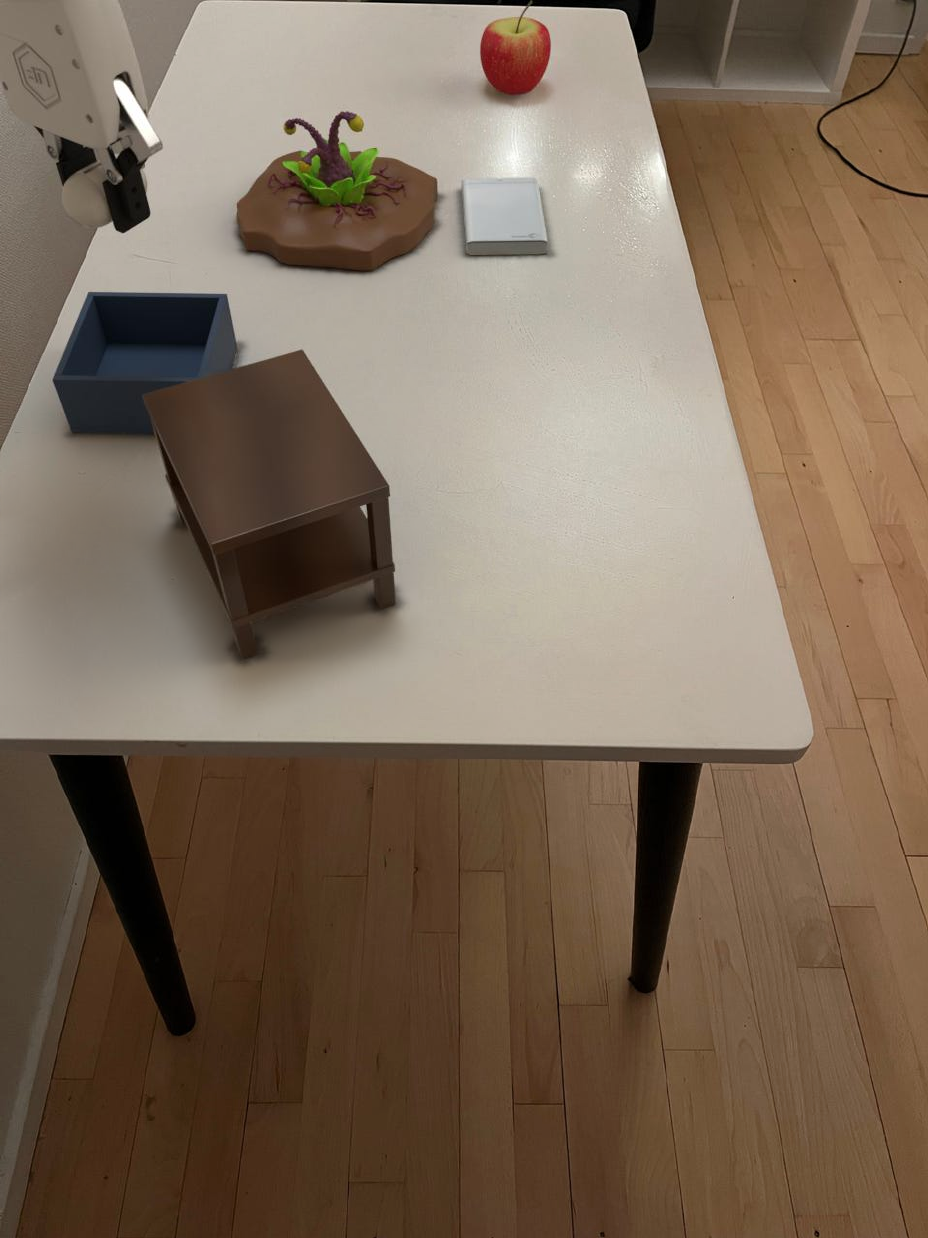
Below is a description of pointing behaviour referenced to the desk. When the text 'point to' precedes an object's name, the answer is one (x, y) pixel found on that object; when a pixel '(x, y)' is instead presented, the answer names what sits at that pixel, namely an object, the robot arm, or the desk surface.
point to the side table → (273, 489)
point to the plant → (336, 204)
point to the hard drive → (503, 216)
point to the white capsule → (89, 196)
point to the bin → (139, 355)
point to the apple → (515, 53)
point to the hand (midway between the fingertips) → (110, 212)
